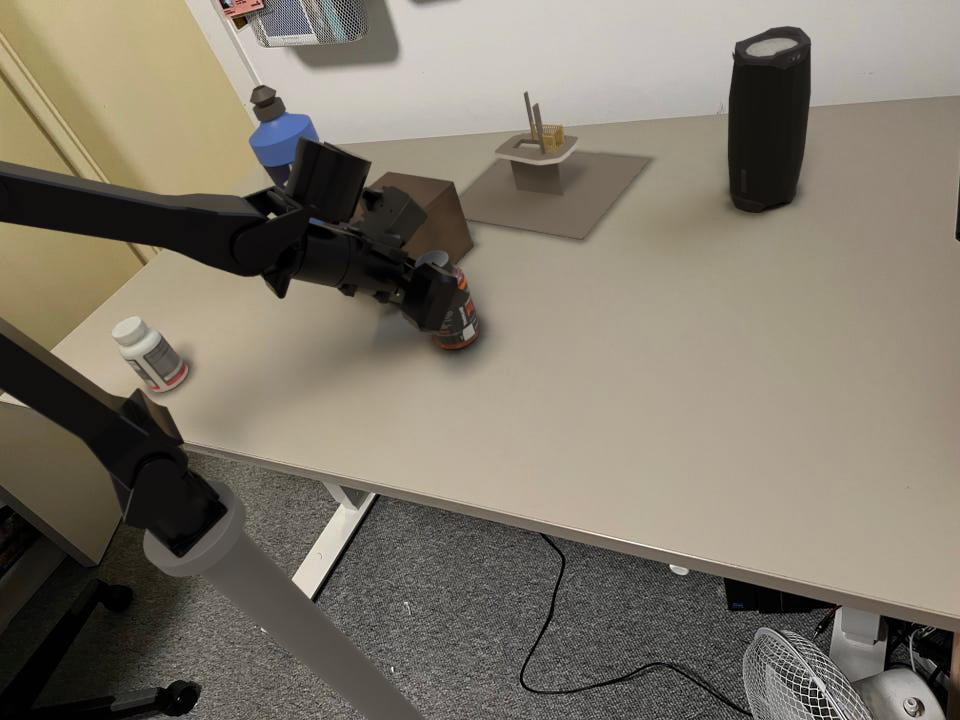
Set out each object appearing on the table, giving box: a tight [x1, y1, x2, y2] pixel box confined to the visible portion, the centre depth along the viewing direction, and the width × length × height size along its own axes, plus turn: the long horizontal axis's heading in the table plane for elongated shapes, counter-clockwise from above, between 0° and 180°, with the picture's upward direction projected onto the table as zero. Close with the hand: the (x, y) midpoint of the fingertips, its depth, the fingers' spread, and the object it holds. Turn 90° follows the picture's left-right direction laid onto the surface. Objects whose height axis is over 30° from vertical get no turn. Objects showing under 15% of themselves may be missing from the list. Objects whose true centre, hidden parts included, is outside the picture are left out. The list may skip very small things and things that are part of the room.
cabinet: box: [322, 171, 474, 292], centre depth 87 cm, size 14×13×11 cm
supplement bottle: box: [415, 251, 481, 350], centre depth 74 cm, size 6×6×11 cm
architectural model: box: [459, 91, 649, 240], centre depth 93 cm, size 21×25×14 cm
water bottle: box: [248, 84, 324, 225], centre depth 94 cm, size 9×9×25 cm
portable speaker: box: [727, 25, 812, 213], centre depth 75 cm, size 9×9×20 cm
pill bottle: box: [111, 315, 189, 393], centre depth 83 cm, size 5×5×10 cm
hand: (452, 287), depth 74 cm, fingers closed on supplement bottle, 6 cm apart
